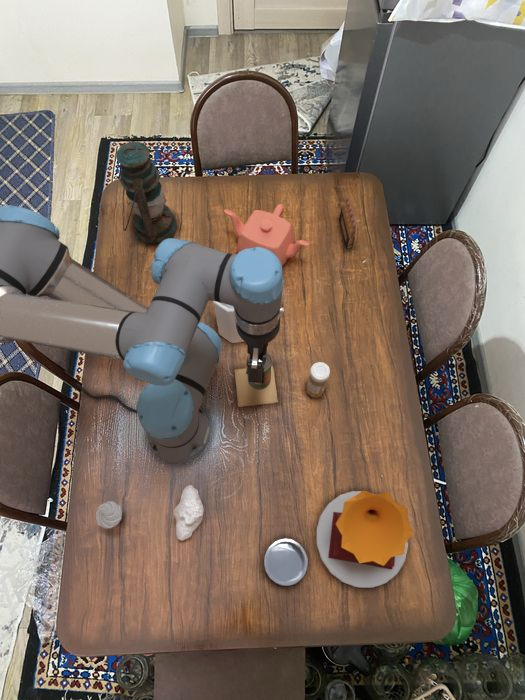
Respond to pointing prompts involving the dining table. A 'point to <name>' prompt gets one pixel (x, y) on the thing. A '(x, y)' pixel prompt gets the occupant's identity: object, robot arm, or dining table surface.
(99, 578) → the dining table surface
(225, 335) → the cup
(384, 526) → the gramophone
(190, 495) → the white rock
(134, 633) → the dining table surface
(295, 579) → the grey cylinder
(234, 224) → the pot
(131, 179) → the lantern
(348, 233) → the bullet clip
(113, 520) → the ice cream cone
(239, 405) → the coaster
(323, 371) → the sprinkles bottle
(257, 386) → the green can
